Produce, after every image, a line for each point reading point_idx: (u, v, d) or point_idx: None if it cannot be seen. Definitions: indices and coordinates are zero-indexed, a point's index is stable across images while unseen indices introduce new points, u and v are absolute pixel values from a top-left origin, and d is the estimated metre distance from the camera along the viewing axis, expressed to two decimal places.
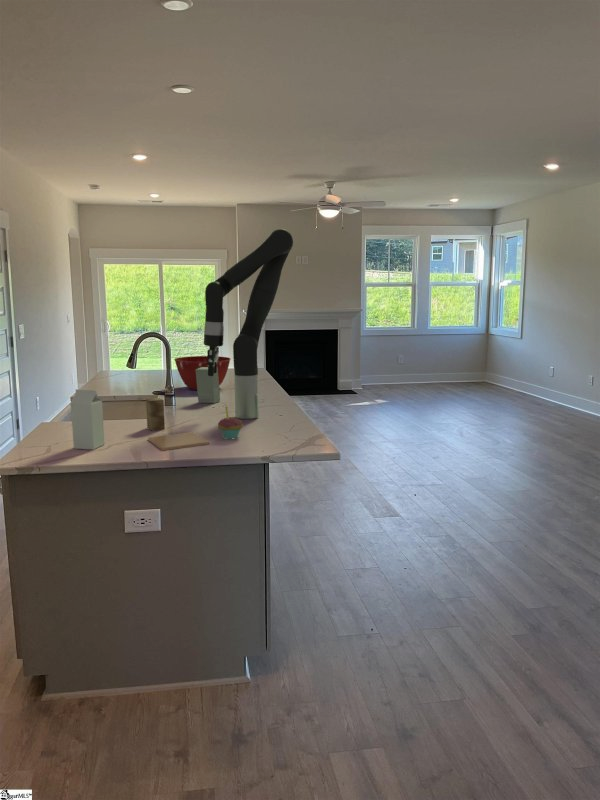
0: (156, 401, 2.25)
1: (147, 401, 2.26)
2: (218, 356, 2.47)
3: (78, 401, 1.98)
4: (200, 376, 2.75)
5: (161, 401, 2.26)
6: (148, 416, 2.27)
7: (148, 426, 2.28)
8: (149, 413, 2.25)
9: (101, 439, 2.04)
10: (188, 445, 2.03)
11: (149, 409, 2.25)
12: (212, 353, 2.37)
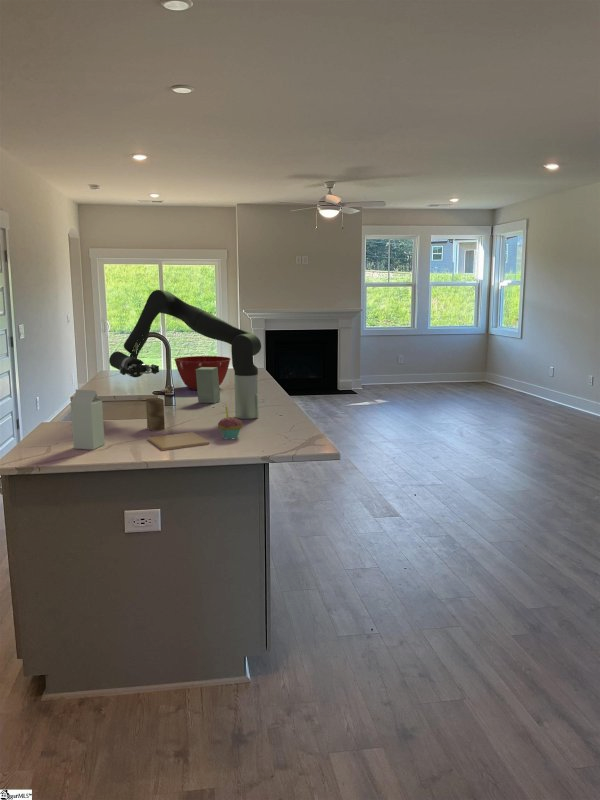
0: (156, 401, 2.25)
1: (147, 401, 2.26)
2: None
3: (78, 401, 1.98)
4: (200, 376, 2.75)
5: (161, 401, 2.26)
6: (148, 416, 2.27)
7: (148, 426, 2.28)
8: (149, 413, 2.25)
9: (101, 439, 2.04)
10: (188, 445, 2.03)
11: (149, 409, 2.25)
12: (120, 368, 2.39)
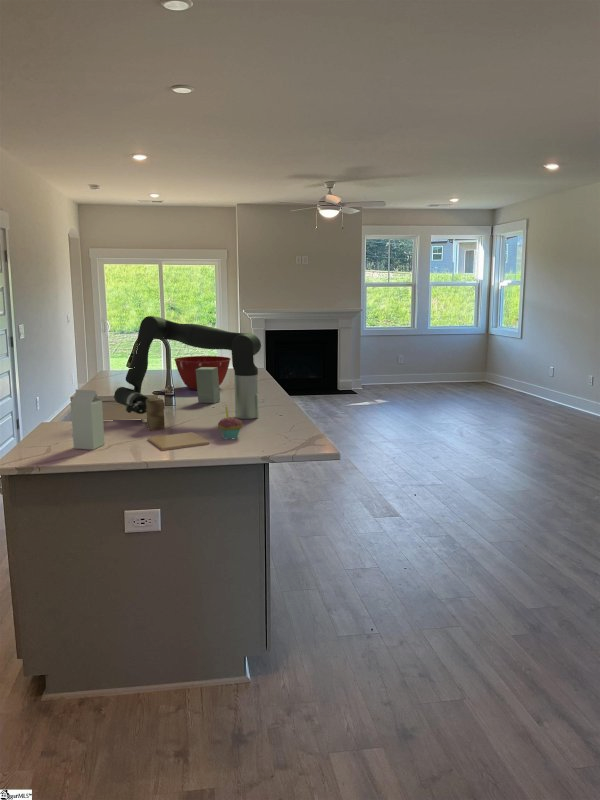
0: (156, 401, 2.25)
1: (147, 401, 2.26)
2: None
3: (78, 401, 1.98)
4: (200, 376, 2.75)
5: (161, 401, 2.26)
6: (148, 416, 2.27)
7: (148, 426, 2.28)
8: (149, 413, 2.25)
9: (101, 439, 2.04)
10: (188, 445, 2.03)
11: (149, 409, 2.25)
12: (125, 405, 2.38)
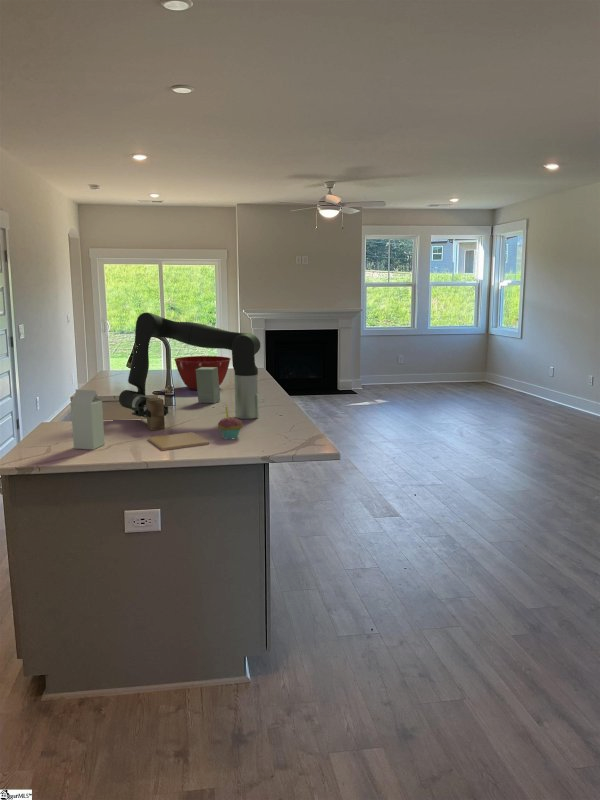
0: (156, 401, 2.25)
1: (147, 401, 2.26)
2: None
3: (78, 401, 1.98)
4: (200, 376, 2.75)
5: (161, 401, 2.26)
6: None
7: (148, 426, 2.28)
8: None
9: (101, 439, 2.04)
10: (188, 445, 2.03)
11: (149, 409, 2.25)
12: (132, 409, 2.30)
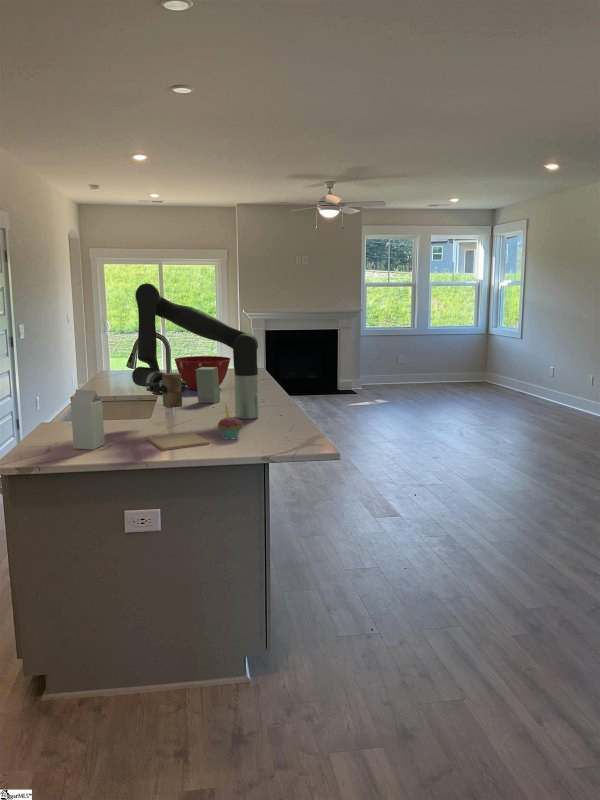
0: (173, 376, 2.05)
1: (163, 376, 2.07)
2: None
3: (78, 401, 1.98)
4: (200, 376, 2.75)
5: (178, 376, 2.06)
6: None
7: (164, 403, 2.09)
8: None
9: (101, 439, 2.04)
10: (188, 445, 2.03)
11: (165, 384, 2.06)
12: (147, 385, 2.10)
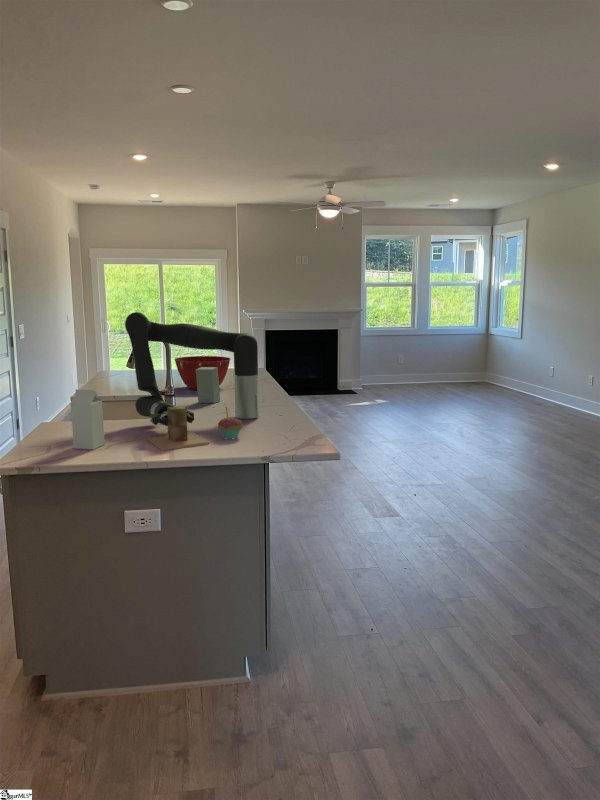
0: (179, 410, 2.05)
1: (168, 410, 2.06)
2: None
3: (78, 401, 1.98)
4: (200, 376, 2.75)
5: (184, 410, 2.06)
6: (169, 426, 2.07)
7: (169, 437, 2.08)
8: (171, 423, 2.06)
9: (101, 439, 2.04)
10: (188, 445, 2.03)
11: (171, 418, 2.05)
12: (150, 416, 2.10)
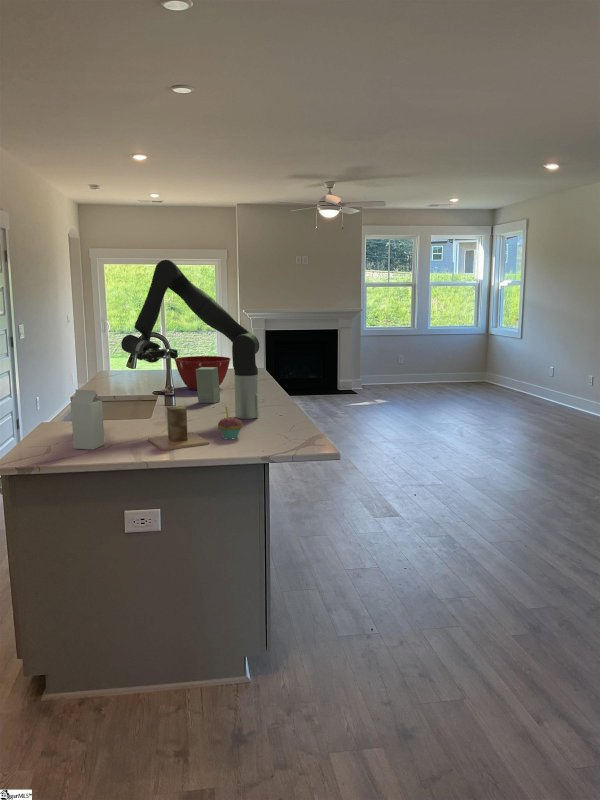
0: (179, 410, 2.05)
1: (168, 410, 2.06)
2: (166, 349, 2.24)
3: (78, 401, 1.98)
4: (200, 376, 2.75)
5: (184, 410, 2.06)
6: (169, 426, 2.07)
7: (169, 437, 2.08)
8: (171, 423, 2.06)
9: (101, 439, 2.04)
10: (188, 445, 2.03)
11: (171, 418, 2.05)
12: (136, 353, 2.20)
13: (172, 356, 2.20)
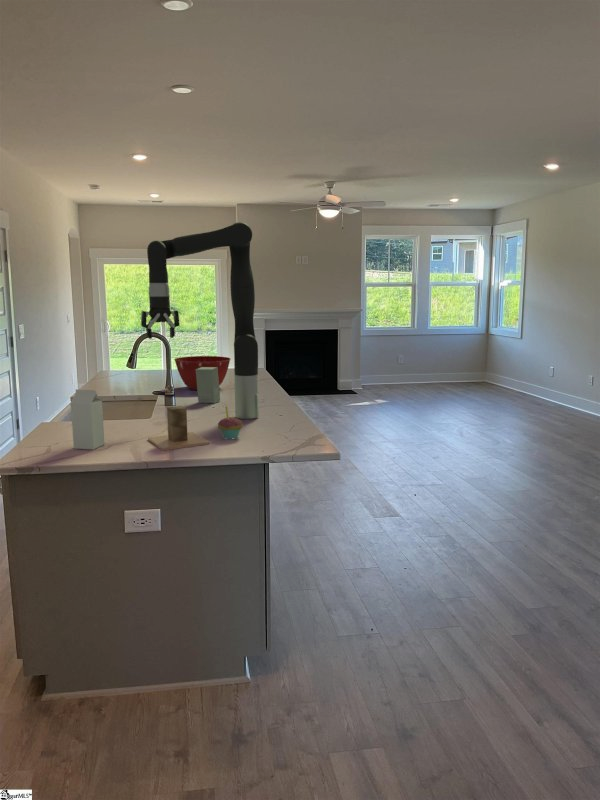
0: (179, 410, 2.05)
1: (168, 410, 2.06)
2: (170, 320, 2.37)
3: (78, 401, 1.98)
4: (200, 376, 2.75)
5: (184, 410, 2.06)
6: (169, 426, 2.07)
7: (169, 437, 2.08)
8: (171, 423, 2.06)
9: (101, 439, 2.04)
10: (188, 445, 2.03)
11: (171, 418, 2.05)
12: (142, 314, 2.32)
13: (170, 333, 2.40)
